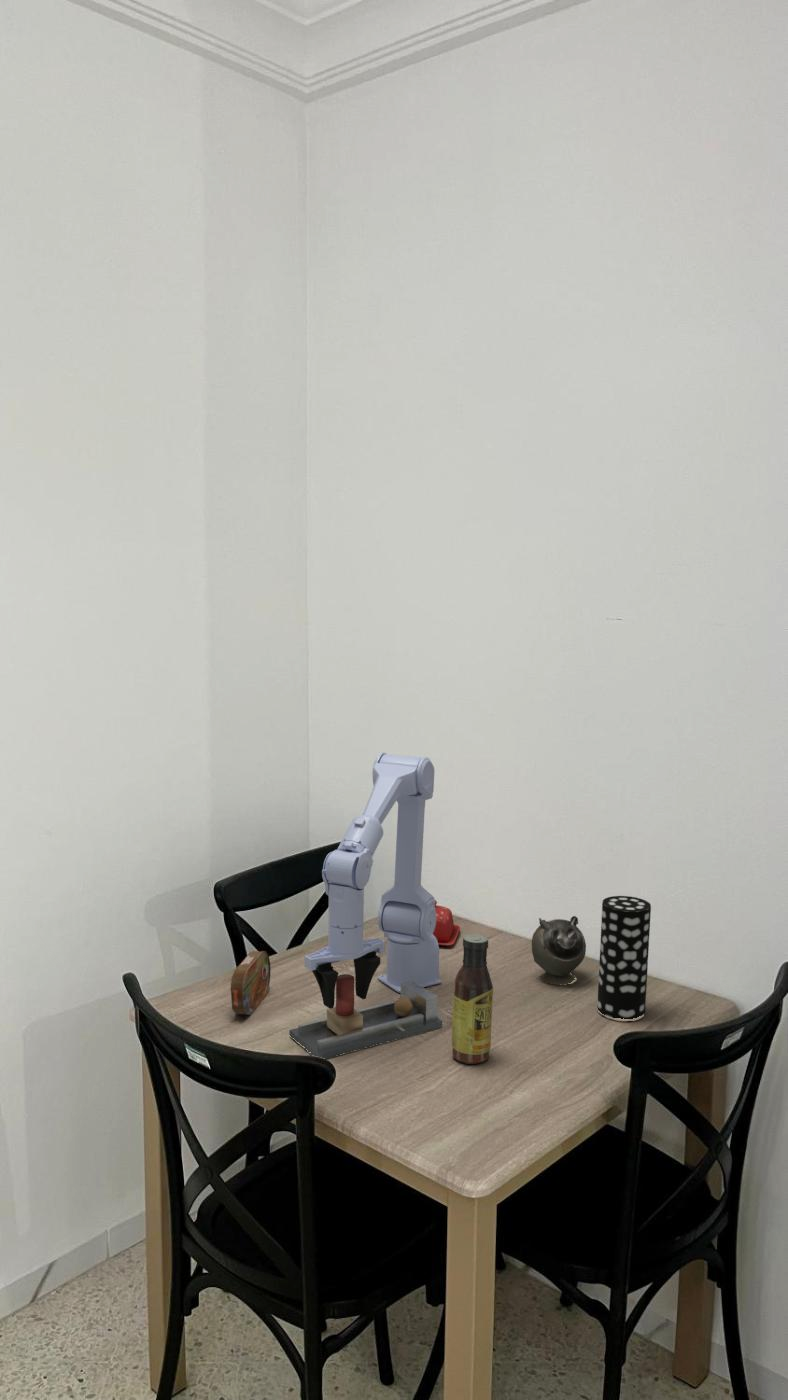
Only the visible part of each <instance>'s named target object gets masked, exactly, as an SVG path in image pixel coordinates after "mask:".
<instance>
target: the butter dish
mask: <svg viewBox="0 0 788 1400" xmlns="http://www.w3.org/2000/svg"><path fill="white" fill-rule="evenodd" d="M434 901H435V911H436V926H435V929H434V932H433V935H434V936H435V937H436V939H437V941H438V945H439V946H453V945H454V944H455V942H456V940H457V938H458V935H459V932H460V930H461V926H460V925H457V924H454V918H453V913H452V910H451V909H450V908H448V907H446V906H442V905H437V904H438V901H437V900H436V899H434Z"/></svg>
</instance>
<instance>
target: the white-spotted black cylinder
mask: <svg viewBox="0 0 788 1400" xmlns="http://www.w3.org/2000/svg"><path fill="white" fill-rule="evenodd" d="M601 904H602V905H601V921H600V922H601V923H600V924H601V925H600V926H601V927H600V945H599V962H598V963H599V967H598V982H597V983H598V989H597V1002H596V1003H597V1006H596V1007H597V1008H598V1010H599V1011H600V1012H601V1013H602V1014H604V1015H606V1016H609V1017H613V1018H621V1019H623V1018H624V1019H633V1018H637V1017H639V1016H642V1015H643V1014H644V1013H645V1014H646V1005H647V1004H646V1003H647V1002H646V1001H647V1000H646V999H647V986H648V985H647V984H648V965H649V964H648V963H649V947H650V934H651V933H650V930H651V914H652V913H651V911H652V905H651V902H649V901H647V900H645V899H642V898H639V897H637V896H636V897H635V896H628V895H614V896H607V897H605V898H603V900H602V903H601Z"/></svg>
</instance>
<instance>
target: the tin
mask: <svg viewBox="0 0 788 1400" xmlns="http://www.w3.org/2000/svg"><path fill="white" fill-rule="evenodd" d="M271 970H272V968H271V960H270V956H269V954H268V952H267V951H266V950H262V951H256V950H255V951H254V950H253V951H250V952H249V953H248V954H247V955H246V956H245V958H244V959H243V960H242V961H241V963H239V964H238V966H237V967H236V968H235V970H234V972H233V974H232V977H231V982H230V996H231V997H230V998H231V1008H232V1011H233V1012H234V1013H235V1014H237V1015H247V1016H251V1015H252V1014H253V1013H254V1012H255V1011H256V1010H257V1008H258V1007H259V1005H260V1004H261V1002H262V1001H263V1000H264V998H265V997H266V995H267V994H268V991H269V988H270V983H271Z"/></svg>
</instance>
